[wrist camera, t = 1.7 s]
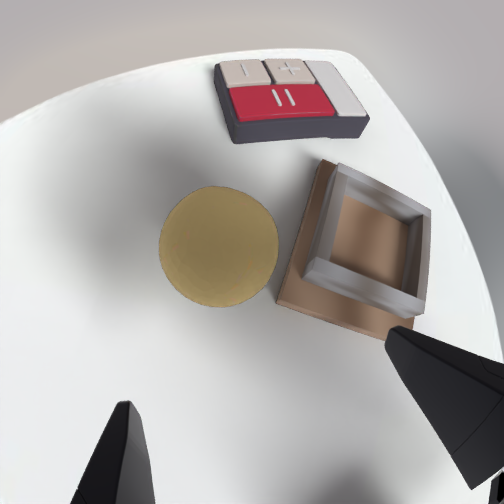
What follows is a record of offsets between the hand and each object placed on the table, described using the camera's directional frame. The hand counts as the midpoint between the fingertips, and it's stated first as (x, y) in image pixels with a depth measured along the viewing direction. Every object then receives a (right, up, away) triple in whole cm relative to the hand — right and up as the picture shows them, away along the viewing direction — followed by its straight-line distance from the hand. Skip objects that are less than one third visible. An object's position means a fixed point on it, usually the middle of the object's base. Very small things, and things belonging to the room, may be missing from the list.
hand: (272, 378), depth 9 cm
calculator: (+3, +20, +22) cm, 30 cm away
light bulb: (-4, +2, +14) cm, 14 cm away
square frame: (+9, +4, +16) cm, 19 cm away
